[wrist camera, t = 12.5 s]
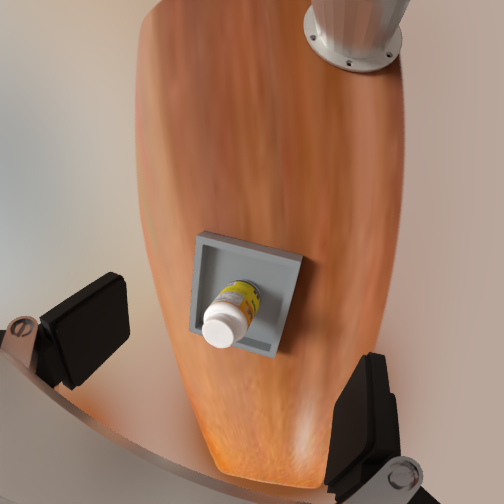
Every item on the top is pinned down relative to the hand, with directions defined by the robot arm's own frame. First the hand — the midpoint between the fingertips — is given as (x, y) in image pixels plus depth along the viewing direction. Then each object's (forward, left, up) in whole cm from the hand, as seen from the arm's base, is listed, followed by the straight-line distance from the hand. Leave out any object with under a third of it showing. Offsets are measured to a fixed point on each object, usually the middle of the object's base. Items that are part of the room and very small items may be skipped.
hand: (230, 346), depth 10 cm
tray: (+14, -6, -28) cm, 31 cm away
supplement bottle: (+14, -6, -27) cm, 31 cm away
